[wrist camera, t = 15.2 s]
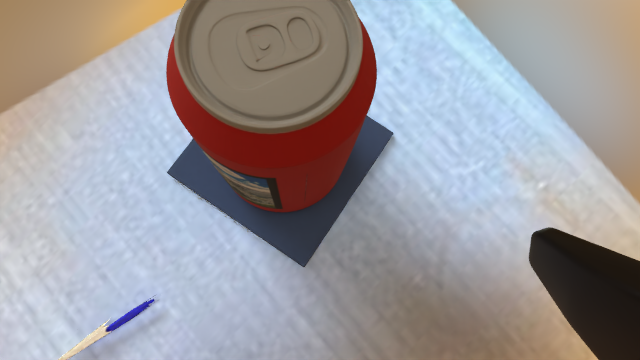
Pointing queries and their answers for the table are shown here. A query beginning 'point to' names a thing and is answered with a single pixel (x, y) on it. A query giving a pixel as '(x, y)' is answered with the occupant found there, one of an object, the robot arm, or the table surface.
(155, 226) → the table surface
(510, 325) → the table surface
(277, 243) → the blue mat
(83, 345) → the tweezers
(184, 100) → the beverage can
